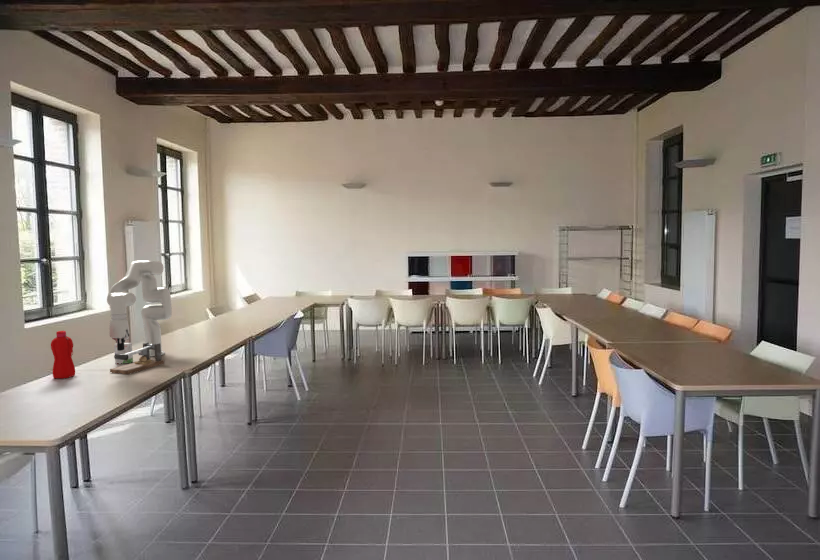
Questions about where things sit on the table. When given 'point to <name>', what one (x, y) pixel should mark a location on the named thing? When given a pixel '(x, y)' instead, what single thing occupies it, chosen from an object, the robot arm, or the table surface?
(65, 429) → the table surface
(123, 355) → the lever
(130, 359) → the ink box
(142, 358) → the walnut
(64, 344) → the red bottle
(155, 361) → the brown board with cylinder
